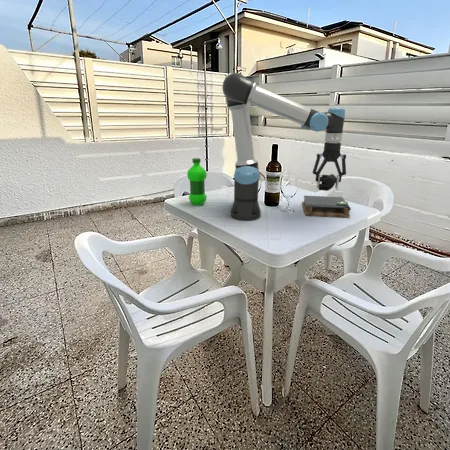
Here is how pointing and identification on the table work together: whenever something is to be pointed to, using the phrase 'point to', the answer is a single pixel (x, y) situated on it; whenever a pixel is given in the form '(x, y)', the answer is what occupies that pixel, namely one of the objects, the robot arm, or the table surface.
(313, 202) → the tilting plate
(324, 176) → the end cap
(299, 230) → the table surface
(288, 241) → the table surface
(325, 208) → the walnut stand
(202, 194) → the plastic bottle
